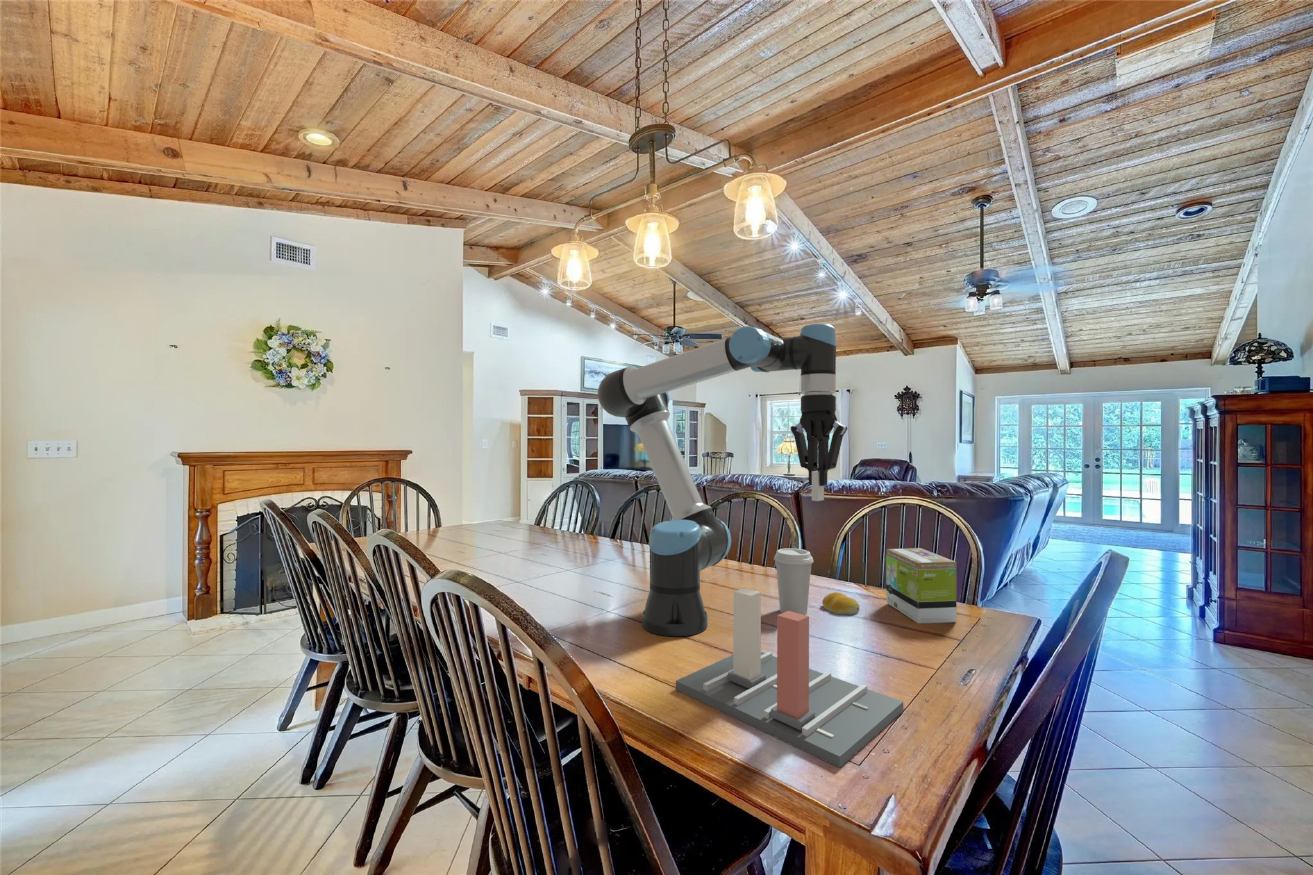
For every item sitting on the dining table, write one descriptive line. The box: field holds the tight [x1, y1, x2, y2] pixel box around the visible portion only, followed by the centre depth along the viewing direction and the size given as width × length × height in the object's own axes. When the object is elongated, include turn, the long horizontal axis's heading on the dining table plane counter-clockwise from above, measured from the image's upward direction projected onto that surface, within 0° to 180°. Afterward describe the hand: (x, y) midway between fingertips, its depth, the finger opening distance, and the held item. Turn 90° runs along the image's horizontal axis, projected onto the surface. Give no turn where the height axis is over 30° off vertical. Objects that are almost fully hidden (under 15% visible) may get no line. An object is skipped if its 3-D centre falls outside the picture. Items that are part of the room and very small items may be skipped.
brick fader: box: [771, 611, 815, 730], centre depth 79 cm, size 5×4×15 cm
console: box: [675, 651, 904, 769], centre depth 88 cm, size 30×21×2 cm
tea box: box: [885, 547, 958, 625], centre depth 132 cm, size 15×10×15 cm, turn 5°
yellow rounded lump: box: [821, 591, 860, 616], centre depth 135 cm, size 8×9×4 cm
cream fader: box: [728, 587, 766, 689], centre depth 91 cm, size 5×4×15 cm
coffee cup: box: [773, 548, 814, 616], centre depth 132 cm, size 10×10×15 cm
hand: (817, 500), depth 119 cm, fingers closed
